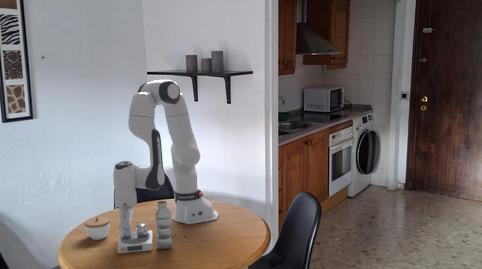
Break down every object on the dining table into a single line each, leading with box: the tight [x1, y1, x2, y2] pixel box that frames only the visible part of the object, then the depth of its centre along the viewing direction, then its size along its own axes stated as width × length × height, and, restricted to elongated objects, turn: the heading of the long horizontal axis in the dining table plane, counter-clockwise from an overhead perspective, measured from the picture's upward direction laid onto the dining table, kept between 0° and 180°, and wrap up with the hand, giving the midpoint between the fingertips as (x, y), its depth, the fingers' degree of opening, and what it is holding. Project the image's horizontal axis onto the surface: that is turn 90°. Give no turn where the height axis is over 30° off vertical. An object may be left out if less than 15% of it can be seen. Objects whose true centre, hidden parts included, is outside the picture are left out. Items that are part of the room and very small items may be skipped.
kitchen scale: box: [116, 230, 154, 254], centre depth 182 cm, size 14×14×4 cm
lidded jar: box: [84, 216, 111, 241], centre depth 190 cm, size 11×11×9 cm
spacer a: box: [118, 224, 132, 239], centre depth 180 cm, size 5×5×5 cm
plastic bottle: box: [154, 200, 173, 250], centre depth 177 cm, size 6×7×20 cm
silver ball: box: [135, 222, 149, 238], centre depth 182 cm, size 5×5×5 cm
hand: (127, 231), depth 180 cm, fingers open, 7 cm apart
